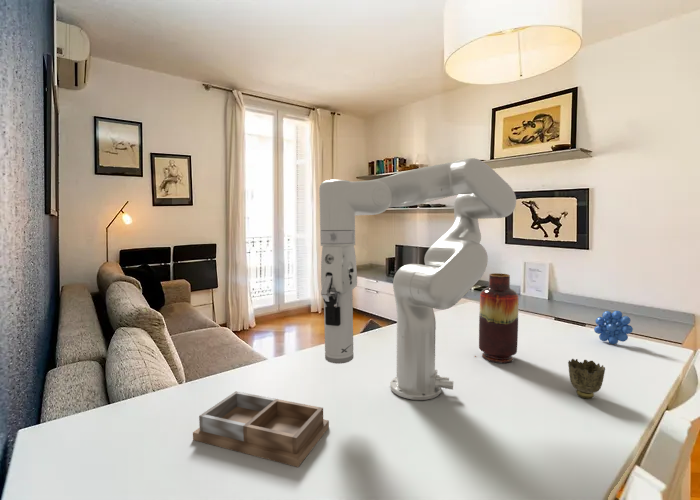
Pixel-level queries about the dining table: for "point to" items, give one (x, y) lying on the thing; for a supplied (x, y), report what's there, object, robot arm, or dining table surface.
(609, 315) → the grapes
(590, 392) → the cup
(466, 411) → the dining table surface
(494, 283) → the vase
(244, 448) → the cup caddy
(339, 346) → the travel mug
